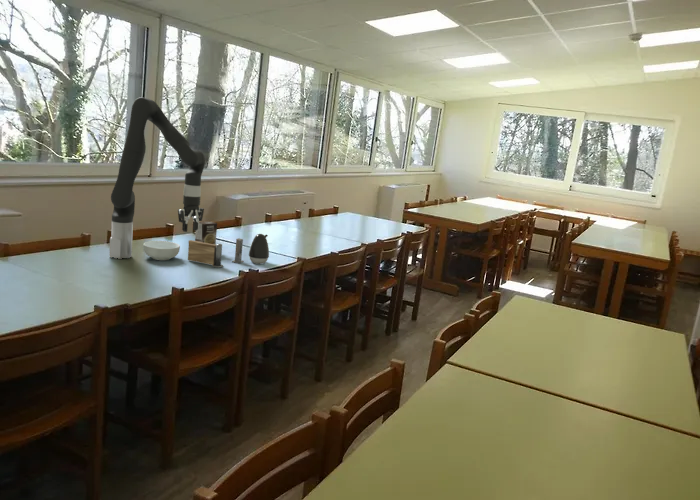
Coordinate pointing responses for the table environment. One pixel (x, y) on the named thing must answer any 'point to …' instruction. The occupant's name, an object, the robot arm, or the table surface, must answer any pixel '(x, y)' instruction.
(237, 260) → the post
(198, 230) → the coffee box
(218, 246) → the hinge post
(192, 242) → the gate
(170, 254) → the cereal bowl
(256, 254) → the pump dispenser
